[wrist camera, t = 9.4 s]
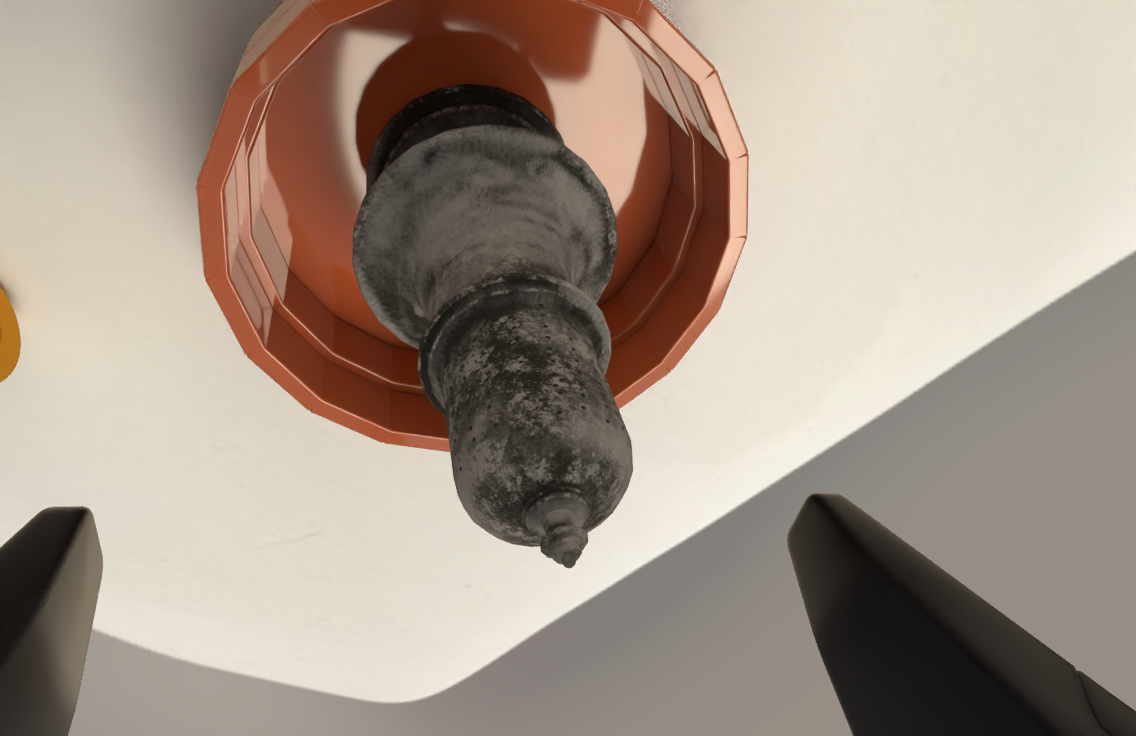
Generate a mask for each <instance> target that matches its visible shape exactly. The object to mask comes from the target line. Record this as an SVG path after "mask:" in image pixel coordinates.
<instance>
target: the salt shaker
mask: <svg viewBox="0 0 1136 736" xmlns="http://www.w3.org/2000/svg"><path fill="white" fill-rule="evenodd" d="M617 250H618V240H617V219H616V216H615V213H614V210H613V207H612V204H611V201H610V199H609V196H608V193H607V190H606V188H605V187H604V185H603V184H602V183H601V181H600V180H599V179H598V177H597V176H596V174H595V173H594V172H593V170H592V169H591V168H590V166H589V165H588V164H587V162H586V161H585V160H583V159H582V158H581V157H579V156H578V155H577V154H575V153H574V152H573V151H571V150H570V149H569V148H567V147H566V146H565V143H564V141H563V138H562V136H561V135H560V133H559V132H558V131H557V129H556V128H555V126H554V125H553V124H552V122H551V121H550V120H549V118H548V117H547V116H546V114H544V113H543V112H542V111H540V110H539V109H538V108H537V107H535V106H534V105H533V104H531V103H530V102H529V101H527V100H526V99H525V98H523V97H521V96H518V95H516V94H513V93H511V92H508V91H506V90H504V89H501V88H499V87H492V86H484V85H475V84H464V85H457V86H450V87H444V88H439V89H436V90H434V91H432V92H430V93H427V94H425V95H423V96H421V97H418V98H416V99H414V100H412V101H411V102H410V103H409V104H407V105H406V106H405V107H404V108H403V109H401V110H400V111H399V112H398V113H396V114H395V115H394V116H393V117H392V118H391V119H390V120H389V121H388V123H387V124H386V126H385V127H384V129H383V130H382V132H381V133H380V135H379V136H378V138H377V139H376V141H375V143H374V146H373V149H372V152H371V155H370V158H369V161H368V164H367V174H366V195H365V197H364V198H363V201H362V204H361V207H360V210H359V213H358V216H357V219H356V222H355V226H354V229H353V255H352V266H353V269H354V272H355V276H356V279H357V282H358V285H359V289H360V292H361V295H362V297H363V298H364V300H365V301H366V303H367V304H368V306H369V307H370V309H371V310H372V312H373V313H374V315H375V316H376V318H377V319H378V321H379V322H380V323H382V324H383V325H384V326H385V327H386V328H387V329H389V330H390V331H391V332H392V333H393V334H394V335H396V336H397V337H398V338H399V339H400V340H401V341H403V342H405V343H407V344H409V345H411V346H413V347H415V348H417V349H419V354H418V373H419V377H420V380H421V384H422V388H423V391H424V392H425V394H426V396H427V397H428V399H429V400H430V402H431V403H432V405H433V406H434V408H435V409H437V410H438V411H439V412H440V413H441V414H443V415H444V416H445V417H446V422H447V429H448V437H449V445H450V453H451V460H452V468H453V476H454V481H455V485H456V489H457V493H458V496H459V498H460V501H461V503H462V505H463V507H464V509H465V510H466V512H467V513H468V515H469V516H470V518H471V519H472V520H473V522H475V523H476V524H477V525H479V526H480V527H481V528H483V529H484V530H486V531H487V532H488V533H490V534H492V535H493V536H495V537H497V538H498V539H501V540H504V541H506V542H509V543H511V544H515V545H522V546H530V547H534V546H540V547H541V552H542V553H543V554H544V555H546V556H547V557H548V558H553V560H554V561H556V562H557V563H559V564H563V565H564V566H565V567H567V568H572V567H573V566H574V565H575V563H576V560H577V559H578V558H579V557H580V555H581V554H582V550H583V549H584V547H585V546H586V544H587V543H588V535H587V533H588V532H589V531H591V530H592V529H594V528H596V527H597V526H599V525H600V524H601V523H602V522H603V521H604V520H605V519H606V518H608V517H609V516H610V515H611V514H612V513H613V511H614V510H615V508H616V507H617V505H618V504H619V502H620V501H621V499H622V497H623V495H624V494H625V492H626V490H627V488H628V485H629V482H630V479H631V475H632V472H633V463H632V446H631V440H630V437H629V435H628V432H627V430H626V427H625V425H624V422H623V420H622V417H621V415H620V412H619V410H618V407H617V405H616V402H615V400H614V397H613V395H612V392H611V390H610V387H609V385H608V382H607V380H606V377H605V374H606V371H607V368H608V364H609V360H610V356H611V338H610V331H609V328H608V326H607V323H606V321H605V318H604V315H603V313H602V311H601V310H600V308H599V307H598V306H597V305H596V304H597V302H598V301H599V299H600V297H601V295H602V293H603V291H604V290H605V288H606V286H607V284H608V282H609V280H610V279H611V275H612V271H613V267H614V263H615V259H616V255H617Z"/></svg>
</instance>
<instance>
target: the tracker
mask: <svg viewBox="0 0 1136 736" xmlns="http://www.w3.org/2000/svg"><path fill="white" fill-rule="evenodd" d="M20 347H21V340H20V331H19V326H18V322H17V319H16V316H15V313H14V310H13V308H12V306H11V304H10V302H9V300H8V298H7V296H6V294H5V292H4V291H3V289H2V288H1V286H0V382H2V381H3V380H5V379H6V378H7V377H8V376H9V375H10V374H11V373H12V371H13V370H14V368H15V366H16V364H17V362H18V359H19V355H20Z"/></svg>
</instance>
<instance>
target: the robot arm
mask: <svg viewBox="0 0 1136 736" xmlns="http://www.w3.org/2000/svg"><path fill="white" fill-rule="evenodd" d="M787 541H788V549H789V552H790V556H791V559H792V562H793V566H794V569H795V573H796V576H797V580H798V583H799V586H800V590H801V593H802V597H803V599H804V603H805V607H806V610H807V614H808V617H809V621H810V624H811V627H812V631H813V634H814V637H815V640H816V643H817V646H818V649H819V651H820V654H821V657H822V659H823V662H824V665H825V667H826V669H827V672H828V675H829V677H830V679H831V682H832V684H833V687H834V689H835V692H836V694H837V697H838V699H839V702H840V704H841V707H842V709H843V712H844V714H845V717H846V719H847V722H848V724H849V726H850V729H851V732H852V734H853V736H1136V711H1135V710H1133V709H1132V708H1130V707H1129V706H1128V705H1126V704H1125V703H1123V702H1122V701H1121V700H1119V699H1118V698H1116V697H1115V696H1114V695H1112V694H1111V693H1109V692H1108V691H1107V690H1105V689H1104V688H1103V687H1101V686H1100V685H1098V684H1097V683H1096V682H1095V681H1093V680H1092V679H1090V678H1089V677H1088V676H1087V675H1085V674H1084V673H1082V672H1081V671H1076V669H1075V667H1074V666H1073V665H1071V664H1070V663H1069V662H1067V661H1066V660H1065V659H1063V658H1062V657H1060V656H1059V655H1058V654H1056V653H1055V652H1054V651H1052V650H1051V649H1050V648H1048V647H1047V646H1046V645H1044V644H1043V643H1041V642H1040V641H1039V640H1037V639H1036V638H1035V637H1033V636H1032V635H1031V634H1029V633H1028V632H1027V631H1025V630H1024V629H1023V628H1021V627H1020V626H1019V625H1017V624H1016V623H1014V622H1013V621H1012V620H1010V619H1009V618H1008V617H1006V616H1005V615H1003V614H1002V613H1001V612H999V611H998V610H997V609H995V608H994V607H993V606H991V605H990V604H989V603H987V602H986V601H984V600H983V599H982V598H981V597H979V596H978V595H976V594H975V593H974V592H972V591H971V590H970V589H968V588H967V587H966V586H964V585H963V584H962V583H960V582H959V581H958V580H956V579H955V578H953V577H952V576H951V575H949V574H948V573H947V572H945V571H944V570H943V569H941V568H940V567H939V566H937V565H936V564H934V563H933V562H932V561H930V560H929V559H928V558H926V557H925V556H924V555H922V554H921V553H920V552H918V551H916V550H915V549H914V548H913V547H911V546H910V545H909V544H907V543H906V542H904V541H903V540H902V539H901V538H899V537H898V536H896V535H895V534H894V533H892V532H891V531H890V530H888V529H887V528H886V527H884V526H883V525H882V524H880V523H879V522H877V521H876V520H875V519H873V518H872V517H871V516H869V515H868V514H867V513H865V512H864V511H862V510H861V509H860V508H858V507H857V506H856V505H854V504H853V503H852V502H850V501H849V500H848V499H846V498H845V497H843V496H842V495H840V494H837V493H814V494H811V495H810V496H809V497H808V498H807V499H806V500H805V502H804V504H803V506H802V508H801V509H800V511H799V513H798V515H797V517H796V518H795V520H794V522H793V524H792V525H791V527H790V530H789V532H788V539H787ZM102 570H103V556H102V551H101V547H100V542H99V538H98V534H97V529H96V525H95V521H94V517H93V514H92V512H91V511H90V509H89V508H87V507H83V506H81V507H50V508H46V509H44V510H42V511H41V512H39V513H38V514H37V515H36V516H35V517H34V518H33V519H31V520H30V521H29V522H28V523H27V524H26V525H25V526H24V527H23V528H21V529H20V530H19V531H18V532H17V533H16V534H15V535H14V536H13V537H12V538H10V539H9V540H8V541H7V542H6V543H5V544H4V545H3V546H2V547H0V736H68V733H69V729H70V726H71V723H72V719H73V715H74V712H75V708H76V704H77V699H78V695H79V690H80V685H81V680H82V675H83V670H84V665H85V660H86V654H87V650H88V644H89V639H90V634H91V629H92V624H93V619H94V614H95V609H96V604H97V599H98V593H99V588H100V583H101V578H102Z"/></svg>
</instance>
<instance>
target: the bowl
mask: <svg viewBox="0 0 1136 736" xmlns="http://www.w3.org/2000/svg"><path fill="white" fill-rule="evenodd" d="M464 84H475V85H484V86H492V87H499V88H501V89H504V90H506V91H508V92H511V93H513V94H516V95H518V96H521V97H523V98H525V99H526V100H527V101H529V102H530V103H531V104H533V105H534V106H535V107H537V108H538V109H539V110H540V111H542V112H543V113H544V114H546V116H547V117H548V118H549V120H550V121H551V122H552V124H553V125H554V126H555V128H556V129H557V131H558V132H559V133H560V135H561V136H562V138H563V141H564V143H565V146H566V147H567V148H569V149H570V150H571V151H573V152H574V153H575V154H577V155H578V156H579V157H581V158H582V159H583V160H585V161H586V162H587V164H588V165H589V166H590V168H591V169H592V170H593V172H594V173H595V174H596V176H597V177H598V179H599V180H600V181H601V183H602V184H603V185H604V187H605V188H606V190H607V193H608V196H609V199H610V201H611V204H612V207H613V210H614V213H615V216H616V219H617V240H618V250H617V255H616V259H615V263H614V267H613V271H612V275H611V279H610V280H609V282H608V284H607V286H606V288H605V290H604V291H603V293H602V295H601V297H600V299H599V301H598V302H597V304H596V305H597V306H598V307H599V308H600V310H601V311H602V313H603V315H604V318H605V321H606V323H607V326H608V328H609V331H610V338H611V356H610V360H609V364H608V368H607V371H606V374H605V377H606V380H607V382H608V385H609V387H610V390H611V392H612V395H613V397H614V400H615V402H616V405H617V407H618V410H619V409H620V408H622V407H623V406H624V405H626V404H627V403H628V402H630V401H631V400H633V399H634V398H635V397H637V396H638V395H639V394H641V393H642V392H644V391H645V390H646V389H648V388H649V387H650V386H652V385H653V384H655V383H656V382H657V381H659V380H660V379H661V378H663V377H664V376H665V375H667V374H668V373H670V371H671V370H673V369H674V367H675V366H676V365H677V364H678V362H679V361H680V360H681V359H682V357H683V356H684V355H685V353H686V352H687V351H688V350H689V348H690V347H691V346H692V345H693V343H694V342H695V341H696V339H697V338H698V337H699V336H700V334H701V333H702V332H703V331H704V329H705V328H706V327H707V325H708V324H709V323H710V322H711V320H712V319H713V318H714V317H715V315H716V314H717V313H718V310H719V309H720V307H721V305H722V302H723V300H724V297H725V294H726V292H727V289H728V286H729V284H730V281H731V278H732V276H733V273H734V270H735V268H736V265H737V262H738V260H739V257H740V254H741V252H742V249H743V246H744V244H745V241H746V238H747V237H746V236H747V224H748V150H747V147H746V144H745V142H744V139H743V137H742V134H741V131H740V129H739V126H738V124H737V121H736V119H735V116H734V113H733V111H732V108H731V106H730V103H729V100H728V98H727V95H726V93H725V90H724V88H723V85H722V82H721V80H720V77H719V75H718V72H717V70H715V67H714V66H713V65H712V64H711V63H710V62H709V61H708V60H707V59H706V57H705V56H704V55H703V54H702V53H701V52H700V51H699V50H698V49H697V48H696V47H695V46H694V45H693V44H692V43H691V42H690V41H689V40H688V39H687V38H686V37H685V36H684V35H683V34H682V33H681V32H680V31H679V30H678V29H677V28H676V27H675V26H674V25H673V24H672V23H671V22H670V21H669V20H668V19H667V18H666V17H665V16H664V14H663V13H662V12H661V11H660V10H659V9H658V8H657V7H656V6H655V5H654V4H653V3H652V2H651V1H650V0H285V1H284V2H283V3H282V4H281V5H280V6H279V7H278V8H277V9H276V10H275V11H274V12H273V13H272V14H271V15H270V16H269V17H268V18H267V20H266V21H265V22H264V23H263V24H262V25H261V26H260V27H259V28H258V29H257V30H256V31H255V32H254V33H253V35H252V37H251V39H250V40H249V42H248V45H247V47H246V50H245V52H244V55H243V57H242V59H241V62H240V64H239V66H238V69H237V71H236V74H235V76H234V78H233V81H232V83H231V86H230V88H229V91H228V94H227V97H226V99H225V102H224V105H223V108H222V111H221V114H220V116H219V119H218V122H217V125H216V128H215V130H214V133H213V136H212V139H211V142H210V145H209V147H208V150H207V153H206V156H205V159H204V162H203V164H202V167H201V170H200V173H199V176H198V179H197V185H196V191H197V202H198V213H199V225H200V236H201V247H202V258H203V270H204V276H205V279H206V282H207V284H208V286H209V287H210V289H211V291H212V293H213V295H214V297H215V299H216V301H217V302H218V304H219V306H220V308H221V310H222V312H223V314H224V315H225V317H226V319H227V321H228V323H229V325H230V327H231V329H232V330H233V332H234V334H235V336H236V338H237V340H238V342H239V343H240V345H241V347H242V349H243V351H244V353H245V354H246V355H247V357H248V358H249V359H250V360H251V361H253V362H254V363H255V364H256V365H257V366H258V367H259V368H261V369H262V370H263V371H264V372H265V373H266V374H267V375H268V376H270V377H271V378H272V379H273V380H274V381H275V382H276V383H278V384H279V385H280V386H281V387H282V388H283V389H284V390H286V391H287V392H288V393H289V394H290V395H291V396H292V397H294V398H295V399H296V400H297V401H298V402H299V403H300V404H302V405H303V406H304V407H305V408H306V409H307V410H310V412H312V413H314V414H317V415H319V416H321V417H324V418H326V419H328V420H331V421H333V422H335V423H337V424H340V425H342V426H344V427H347V428H349V429H351V430H354V431H356V432H358V433H361V434H363V435H365V436H367V437H370V438H372V439H374V440H377V441H379V442H381V443H383V442H384V443H385V444H393V445H400V446H408V447H415V448H423V449H430V450H438V451H445V452H450V445H449V437H448V429H447V422H446V417H445V416H444V415H443V414H441V413H440V412H439V411H438V410H437V409H435V408H434V406H433V405H432V403H431V402H430V400H429V399H428V397H427V396H426V394H425V392H424V391H423V388H422V384H421V380H420V377H419V373H418V354H419V349H417V348H415V347H413V346H411V345H409V344H407V343H405V342H403V341H401V340H400V339H399V338H398V337H397V336H396V335H394V334H393V333H392V332H391V331H390V330H389V329H387V328H386V327H385V326H384V325H383V324H382V323H380V322H379V321H378V319H377V318H376V316H375V315H374V313H373V312H372V310H371V309H370V307H369V306H368V304H367V303H366V301H365V300H364V298H363V297H362V295H361V292H360V289H359V285H358V282H357V279H356V276H355V272H354V269H353V266H352V255H353V229H354V226H355V222H356V219H357V216H358V213H359V210H360V207H361V204H362V201H363V198H364V197H365V195H366V174H367V164H368V161H369V158H370V155H371V152H372V149H373V146H374V143H375V141H376V139H377V138H378V136H379V135H380V133H381V132H382V130H383V129H384V127H385V126H386V124H387V123H388V121H389V120H390V119H391V118H392V117H393V116H394V115H395V114H396V113H398V112H399V111H400V110H401V109H403V108H404V107H405V106H406V105H407V104H409V103H410V102H411V101H412V100H414V99H416V98H418V97H421V96H423V95H425V94H427V93H430V92H432V91H434V90H436V89H439V88H444V87H450V86H457V85H464Z"/></svg>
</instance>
